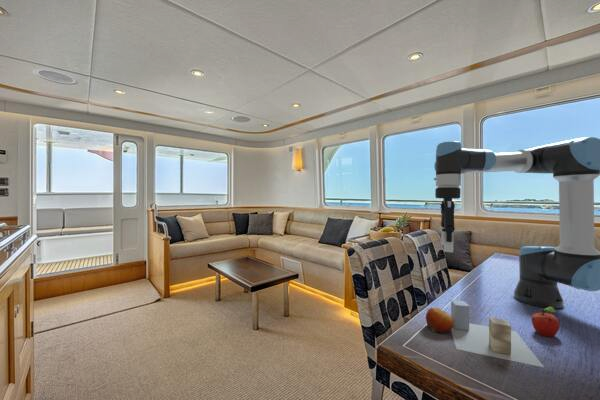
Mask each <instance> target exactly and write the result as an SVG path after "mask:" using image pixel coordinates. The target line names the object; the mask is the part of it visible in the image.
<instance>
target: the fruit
mask: <svg viewBox="0 0 600 400" xmlns="http://www.w3.org/2000/svg"><path fill="white" fill-rule="evenodd" d="M425 314H426V315H425V319H426V320H425V321H426V324H427V325H426V326H427V327H428V328H430V330H431V331H432V333H441V334H446V333H449V332H451V329H452V327H453V325H454V321H453V318H452V317H451V314H449V313H447V312H446V310H443V309H442V308H439V307H430V308H429V309H427V312H426V313H425Z"/></svg>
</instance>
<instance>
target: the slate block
mask: <svg viewBox="0 0 600 400" xmlns="http://www.w3.org/2000/svg"><path fill="white" fill-rule="evenodd" d="M450 307H451V308H450V309H451V311H450V316H451V317H452V318H453V321H454V325H453V327H454V328H455V329H458V330H467V331H469V323H470V305H469V304H468V303H467V302H466V301H464V300H463V301H462V300H455V299H454V300H453V299H452V300H450Z"/></svg>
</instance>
